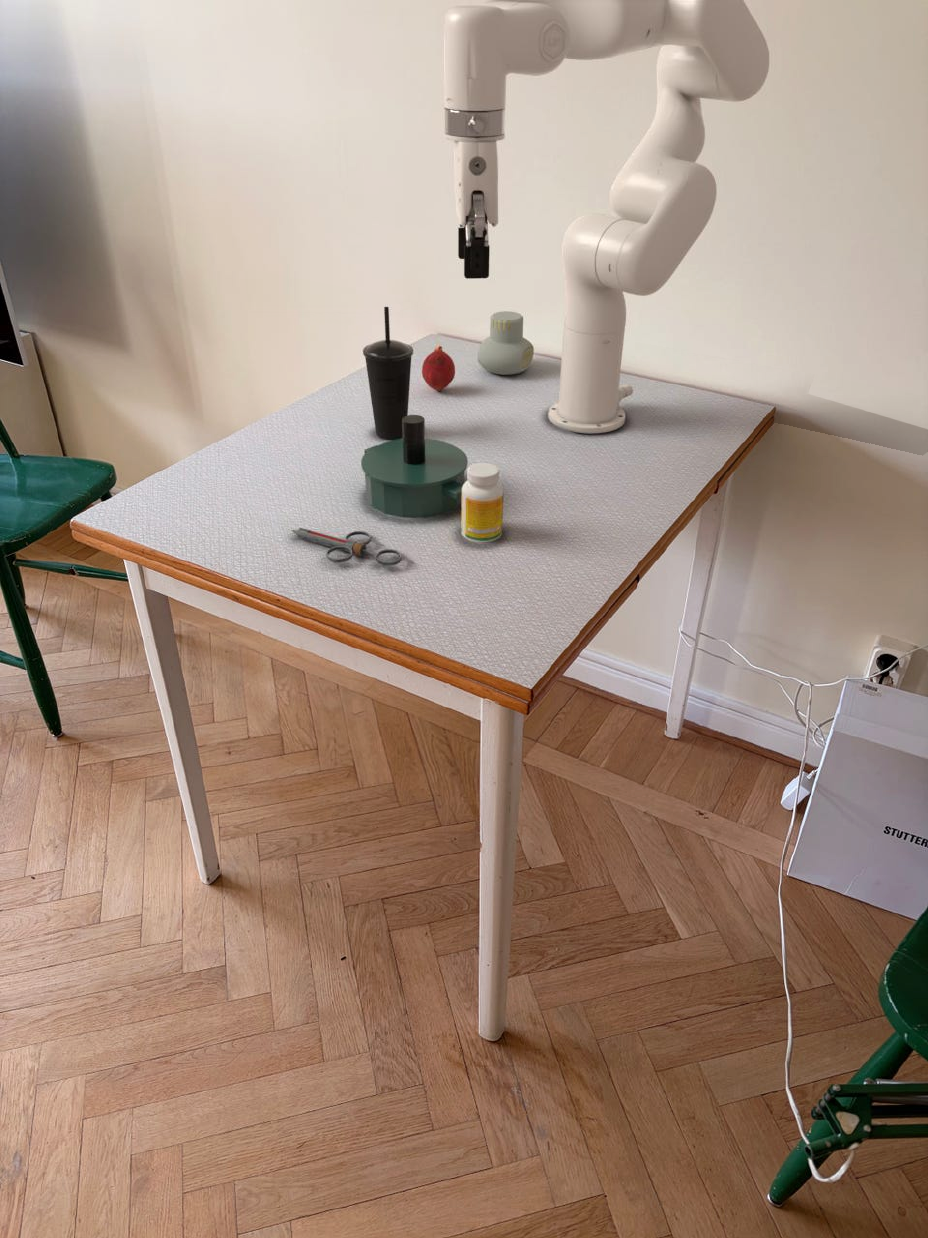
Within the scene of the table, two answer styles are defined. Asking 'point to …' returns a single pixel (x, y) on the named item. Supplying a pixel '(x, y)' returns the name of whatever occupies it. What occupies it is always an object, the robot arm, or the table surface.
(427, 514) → the pot
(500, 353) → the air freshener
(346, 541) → the syringe
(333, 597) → the table surface
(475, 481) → the supplement bottle
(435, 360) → the onion
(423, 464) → the lid
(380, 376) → the drinking cup
